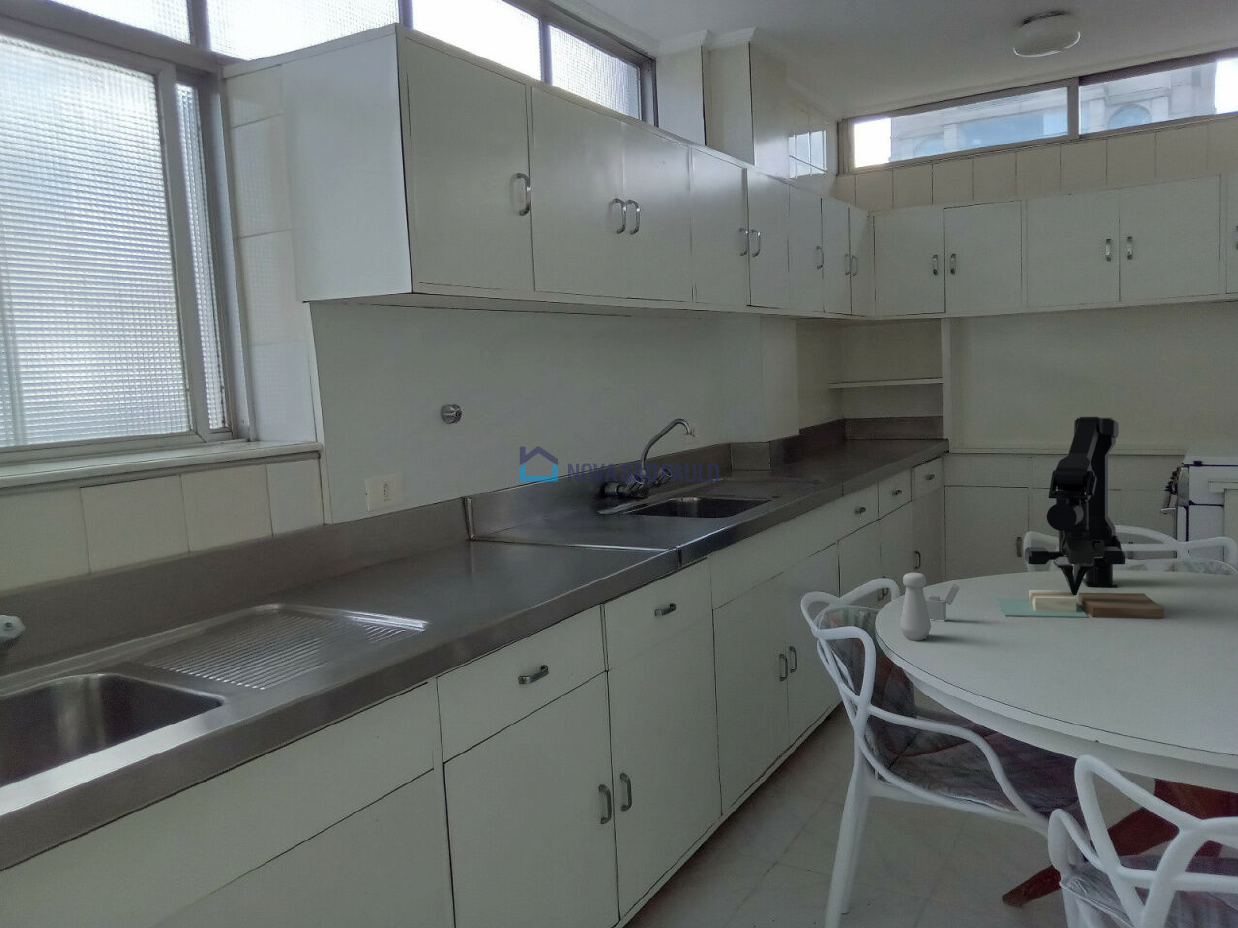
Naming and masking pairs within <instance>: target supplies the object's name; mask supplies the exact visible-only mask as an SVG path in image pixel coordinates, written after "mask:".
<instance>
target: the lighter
mask: <svg viewBox="0 0 1238 928" xmlns="http://www.w3.org/2000/svg"><path fill="white" fill-rule="evenodd" d="M960 589H961V587H960V585H957V584H956V583H954V584H953V585H952V586H951V587H950V590H949V591H948V593H947V595H946V597H945V599H941V596H940V595H938V594H937V595H934V594H931V595H928V597H927V598H925V601H926V606H927V610H928V614H929V619H934V620H945V619H946V620H947V607H946V606H947V605H949V606H951V605H952V603H953V602H954V600H955V598H956V596H957V594H958V592H959V591H960ZM946 604H947V605H946Z"/></svg>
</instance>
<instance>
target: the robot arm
mask: <svg viewBox="0 0 1238 928" xmlns="http://www.w3.org/2000/svg"><path fill="white" fill-rule="evenodd" d="M1073 424H1074V425H1073V437H1072V441H1071V445H1070V447H1069V451H1068V454H1067V455H1066V456H1065V457H1064V458H1062V459H1060V460H1059V461H1058V463H1057V465H1056V468H1055V469H1053V470H1052V474H1051V479H1050V480H1051V481H1050V485H1049V492H1048V499H1056V500H1055V504H1053V505H1052V506H1051V507H1049V509H1048V511H1047V512H1046V521H1047V523H1048V525H1049V526H1050V527H1051V528H1053V529H1054V530H1056V531H1058V550H1054V551H1053V550H1050V551H1049V550H1047V548H1046V547H1044V546H1042V547H1041V546H1029V547H1026V548H1025V549H1024V560H1025V562H1027V564H1028V565H1046V564H1047V563H1048V562H1049V561H1052V563H1053V565H1054V566H1055V567H1056V568H1058V569H1060V571H1061V572H1062V573H1063V575H1064V578H1065V581H1066V583H1067V585H1068V589H1069V591H1070V592H1071V593H1072V594H1073V595H1074V596H1078V593H1079V590H1080V587H1081V584H1082V583H1084V585H1085V586H1087V587H1110V588H1111V587H1113V588H1114V587H1116V588H1117V587H1118V584H1117V583H1116V582H1115V581H1114V572H1113V571H1114V565H1125V564H1126V553H1125V552H1124V551H1123V549H1122V548H1123V547H1122V543H1121V542H1122V541H1120V539H1119V536H1118V535H1116V533H1117V531H1116V528H1117V527H1116V525H1115V524H1114V523H1113V522H1112V519H1110V518H1109V454H1110V453H1111V452H1112V450H1113V448H1114V446H1115V445H1116V442H1117V441H1116V440H1117V439H1118V437H1119V433H1120V432H1119V431H1120V429H1119V422H1117V420H1114V418H1113V417H1099V416H1080V417H1077V418H1076V419H1075V420H1074V421H1073Z"/></svg>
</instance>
